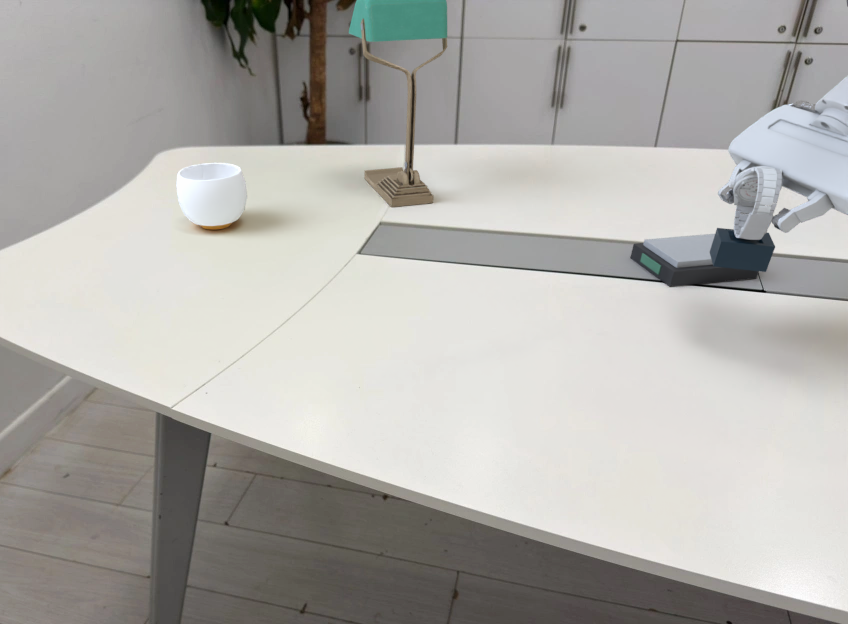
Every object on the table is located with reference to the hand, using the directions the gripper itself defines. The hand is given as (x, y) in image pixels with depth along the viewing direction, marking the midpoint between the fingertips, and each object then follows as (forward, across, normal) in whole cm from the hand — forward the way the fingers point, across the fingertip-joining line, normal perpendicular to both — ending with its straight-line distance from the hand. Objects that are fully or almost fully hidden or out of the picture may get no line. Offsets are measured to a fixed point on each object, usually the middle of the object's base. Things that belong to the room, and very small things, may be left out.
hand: (749, 212), depth 77 cm
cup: (+56, -54, -32) cm, 84 cm away
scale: (+4, -20, +19) cm, 28 cm away
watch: (+4, 0, +5) cm, 6 cm away
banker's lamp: (+30, -68, -5) cm, 74 cm away
